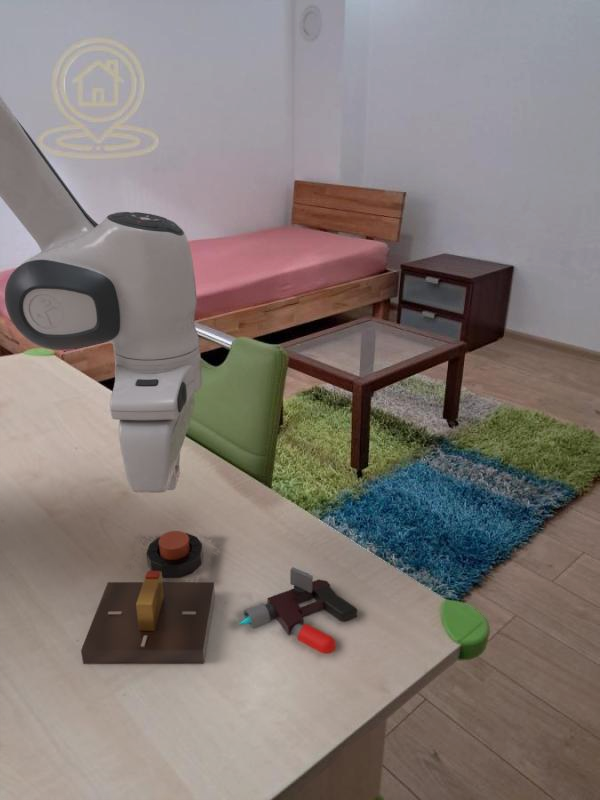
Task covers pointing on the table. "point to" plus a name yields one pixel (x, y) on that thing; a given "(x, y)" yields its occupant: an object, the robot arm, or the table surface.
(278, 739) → the table surface
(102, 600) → the plate
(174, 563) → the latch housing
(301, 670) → the table surface
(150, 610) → the lock turn
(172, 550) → the button
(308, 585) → the toy gun
